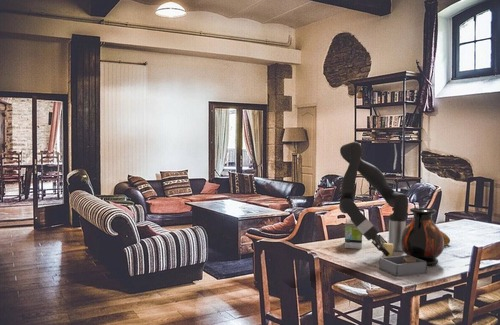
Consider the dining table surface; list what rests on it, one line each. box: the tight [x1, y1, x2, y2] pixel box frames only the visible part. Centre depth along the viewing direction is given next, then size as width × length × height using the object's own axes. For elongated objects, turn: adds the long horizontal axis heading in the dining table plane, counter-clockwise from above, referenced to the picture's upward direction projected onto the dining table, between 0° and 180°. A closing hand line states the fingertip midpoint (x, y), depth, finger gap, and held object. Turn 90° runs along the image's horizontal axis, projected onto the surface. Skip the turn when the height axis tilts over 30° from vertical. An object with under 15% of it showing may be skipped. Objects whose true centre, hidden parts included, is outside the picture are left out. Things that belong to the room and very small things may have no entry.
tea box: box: [344, 219, 363, 250], centre depth 280 cm, size 15×10×15 cm
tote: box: [378, 254, 428, 277], centre depth 228 cm, size 17×13×6 cm
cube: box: [403, 258, 416, 264], centre depth 229 cm, size 5×5×5 cm
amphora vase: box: [401, 207, 445, 267], centre depth 244 cm, size 22×22×28 cm
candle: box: [382, 242, 394, 257], centre depth 242 cm, size 5×5×10 cm
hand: (389, 253), depth 241 cm, fingers open, 8 cm apart
